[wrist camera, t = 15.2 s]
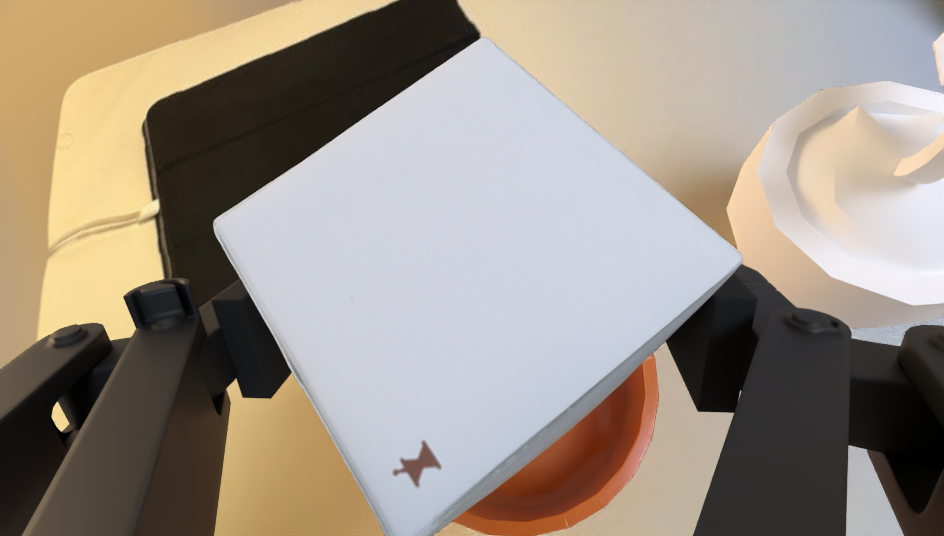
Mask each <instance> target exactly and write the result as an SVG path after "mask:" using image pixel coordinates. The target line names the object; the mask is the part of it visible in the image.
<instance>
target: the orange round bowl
mask: <svg viewBox="0 0 944 536" xmlns="http://www.w3.org/2000/svg"><path fill="white" fill-rule="evenodd" d="M658 401H659V392H658V382H657V373H656V363H655V358H654V354H653V353H652V354H651V355H650V356H649V357H648V358H647V359H646V360H645V361H644V362H643V363H642V364H641V365H640V366H639V367H638V368H637V369H635V370H634V371H633V372H632V374H631V375H630V376H629V377H628V378H627V379H626V380H625V381H624V382H623V383H622V384H621V385H620V386H618V387H617V388H616V389H615V390H614V391H613V392H612V393H611V394H610V395H609V396H608V397H607V398H605V399H604V400H603V401H602V402H601V403H600V404H599V405H598V406H597V407H596V408H595V409H593V410H592V411H591V412H590V413H589V414H588V415H587V416H585V417H584V418H583V419H582V420H581V421H580V422H579V423H577V424H576V425H575V426H574V427H573V428H572V429H570V430H569V431H568V432H567V433H566V434H564V435H563V436H562V437H561V438H560V439H558V440H557V441H556V442H555V443H554V444H552V445H551V446H550V447H549V448H547V449H546V450H545V451H544V452H542V453H541V454H540V455H539V456H537V457H536V458H535V459H534V460H532V461H531V462H530V463H529V464H527V465H526V466H525V467H524V468H522V469H521V470H520V471H518V472H517V473H516V474H515V475H513V476H512V477H511V478H510V479H508V480H507V481H506V482H504V483H503V484H502V485H501V486H499V487H498V488H497V489H495V490H494V491H493V492H491V493H490V494H489V495H487V496H486V497H484V498H483V499H481V500H480V501H479V502H477V503H476V504H475V505H473V506H472V507H471V508H469V509H468V510H467V511H465V512H464V513H462V514H461V515H460V516H458V517H457V518H456V519H454V520H453V521H452V522H455V523H457V524H460V525H463V526H465V527H468V528H470V529H473V530H476V531H478V532H481V533H484V534H487V535H499V536H537V535H541V534H545V533H550V532H554V531H558V530H563V529H567V528H569V527H572V526H573V525H575V524H577V523H579V522H580V521H582V520H584V519H585V518H587V517H589V516H590V515H592V514H594V513H596V512H597V511H599V510H601V509H602V508H604V507H605V506H607V505H608V503H609V502H610V501H611V500H612V499H613V498H614V497H615V496H616V495H617V494H618V493H619V491H620V490H621V489H622V488H623V487H624V486H625V485H626V484H627V483H628V482H629V481H630V479H631V478H632V477H633V475H634V474H635V473H636V471H637V468H638V466H639V464H640V462H641V460H642V458H643V456H644V454H645V452H646V450H647V448H648V446H649V444H650V442H651V440H652V436H653V430H654V424H655V419H656V413H657V407H658Z"/></svg>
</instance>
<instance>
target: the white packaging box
mask: <svg viewBox="0 0 944 536" xmlns="http://www.w3.org/2000/svg"><path fill="white" fill-rule="evenodd" d="M213 227H214V233H215V235H216V237H217V239H218V240H219V242H220V243H221V245H222V247H223V249H224V251H225V253H226V255H227V257H228V258H229V260H230V262H231V263H232V265H233V267H234V268H235V270H236V272H237V273H238V275H239V277H240V278H241V280H242V282H243V284H244V286H245V287H246V289H247V291H248V293H249V294H250V296H251V298H252V300H253V301H254V303H255V305H256V307H257V309H258V310H259V312H260V314H261V316H262V317H263V319H264V321H265V322H266V324H267V326H268V328H269V329H270V331H271V333H272V335H273V336H274V338H275V340H276V342H277V344H278V346H279V348H280V350H281V352H282V354H283V356H284V358H285V360H286V362H287V364H288V366H289V368H290V369H291V371H292V373H293V375H294V377H295V379H296V381H297V382H298V383H299V385H300V386H301V387H302V389H303V390H304V391H305V393H306V395H307V396H308V398H309V400H310V402H311V403H312V405H313V407H314V409H315V410H316V412H317V414H318V416H319V418H320V419H321V421H322V423H323V425H324V426H325V428H326V430H327V431H328V433H329V435H330V437H331V439H332V440H333V442H334V444H335V446H336V447H337V449H338V451H339V453H340V454H341V456H342V458H343V460H344V461H345V463H346V465H347V467H348V469H349V470H350V472H351V474H352V476H353V478H354V479H355V481H356V483H357V484H358V486H359V488H360V490H361V491H362V493H363V495H364V497H365V498H366V500H367V502H368V504H369V506H370V507H371V509H372V511H373V513H374V514H375V516H376V518H377V520H378V522H379V524H380V526H381V528H382V530H383V532H384V534H385V536H433V535H434V534H436V533H437V532H438V531H440V530H441V529H442V528H444V527H445V526H446V525H448V524H449V523H450V522H452V521H453V520H454V519H456V518H457V517H458V516H460V515H461V514H462V513H464V512H465V511H467V510H468V509H469V508H471V507H472V506H473V505H475V504H476V503H477V502H479V501H480V500H481V499H483V498H484V497H486V496H487V495H489V494H490V493H491V492H493V491H494V490H495V489H497V488H498V487H499V486H501V485H502V484H503V483H504V482H506V481H507V480H508V479H510V478H511V477H512V476H513V475H515V474H516V473H517V472H518V471H520V470H521V469H522V468H524V467H525V466H526V465H527V464H529V463H530V462H531V461H532V460H534V459H535V458H536V457H537V456H539V455H540V454H541V453H542V452H544V451H545V450H546V449H547V448H549V447H550V446H551V445H552V444H554V443H555V442H556V441H557V440H558V439H560V438H561V437H562V436H563V435H564V434H566V433H567V432H568V431H569V430H570V429H572V428H573V427H574V426H575V425H576V424H577V423H579V422H580V421H581V420H582V419H583V418H584V417H585V416H587V415H588V414H589V413H590V412H591V411H592V410H593V409H595V408H596V407H597V406H598V405H599V404H600V403H601V402H602V401H603V400H604V399H605V398H607V397H608V396H609V395H610V394H611V393H612V392H613V391H614V390H615V389H616V388H617V387H618V386H620V385H621V384H622V383H623V382H624V381H625V380H626V379H627V378H628V377H629V376H630V375H631V374H632V372H633V371H634V370H635V369H637V368H638V367H639V366H640V365H641V364H642V363H643V362H644V361H645V360H646V359H647V358H648V357H649V356H650V355H651V354H652V353H653V352H654V351H656V350H657V349H658V348H659V347H660V346H661V345H662V344H663V343H664V342H665V341H666V340H667V339H668V338H669V337H670V336H671V335H672V334H673V333H674V332H675V331H676V330H677V329H678V328H679V327H680V326H681V325H682V324H683V323H684V322H685V321H686V320H687V319H688V318H689V317H690V316H691V315H692V314H693V313H694V312H696V311H697V310H698V309H699V308H700V307H701V306H702V305H703V304H704V303H705V302H706V301H707V300H708V299H709V298H710V297H711V296H712V295H713V294H714V293H715V292H716V291H717V290H718V289H719V288H720V287H721V286H722V285H723V284H724V283H725V281H726V280H727V279H728V278H729V277H730V276H731V275H732V274H733V273H734V272H735V271H736V270H737V268H738V267H739V266H740V265H741V264H742V262H743V255H742V254H741V253H740V252H739V251H738V250H736V249H735V248H734V247H733V246H732V245H731V244H730V243H729V242H727V241H726V240H725V239H724V238H722V237H721V236H720V235H719V234H718V233H716V232H715V231H714V230H713V229H711V228H710V227H709V226H708V225H707V224H706V223H704V222H703V221H702V220H701V219H700V218H699V217H697V216H696V215H695V214H694V213H693V212H692V211H690V210H689V209H688V208H687V207H685V206H684V205H683V204H682V203H681V202H679V201H678V200H677V199H676V198H675V197H674V196H672V195H671V194H670V193H669V192H668V191H667V190H665V189H664V188H663V187H662V186H661V185H660V184H658V183H657V182H656V181H655V180H654V179H653V178H651V177H650V176H649V175H648V174H647V173H646V172H644V171H643V170H642V169H641V168H640V167H639V166H637V165H636V164H635V163H634V162H633V161H631V160H630V159H629V158H628V157H627V156H626V155H624V154H623V153H622V152H621V151H620V150H618V149H617V148H616V147H615V146H614V145H613V144H611V143H610V142H609V141H608V140H607V139H606V138H604V137H603V136H602V135H601V134H600V133H598V132H597V131H596V130H595V129H594V128H593V127H591V126H590V125H589V124H588V123H587V122H585V121H584V120H583V119H582V118H581V117H580V116H578V115H577V114H576V113H575V112H574V111H573V110H571V109H570V108H569V107H568V106H567V105H566V104H564V103H563V102H562V101H561V100H560V99H558V98H557V97H556V96H555V95H554V94H553V93H551V92H550V91H549V90H548V89H547V88H546V87H545V86H543V85H542V84H541V83H540V82H539V81H538V80H536V79H535V78H534V77H533V76H532V75H531V74H530V73H528V72H527V71H526V70H525V69H524V68H523V67H521V66H520V65H519V64H518V63H517V62H516V61H514V60H513V59H512V58H511V57H510V56H508V55H507V54H506V53H505V52H504V51H503V50H501V49H500V48H499V47H498V46H497V45H496V44H495V43H494V42H492V41H491V40H490V39H489V38H486V37H482V38H480V39H479V40H477V41H476V42H475V43H473V44H472V45H470V46H469V47H467V48H466V49H464V50H463V51H461V52H460V53H458V54H457V55H455V56H454V57H452V58H451V59H449V60H448V61H446V62H445V63H443V64H442V65H441V66H439V67H438V68H436V69H435V70H433V71H432V72H430V73H429V74H427V75H426V76H424V77H423V78H422V79H420V80H419V81H417V82H416V83H414V84H413V85H412V86H410V87H409V88H407V89H406V90H404V91H403V92H401V93H400V94H399V95H397V96H396V97H394V98H393V99H391V100H390V101H388V102H387V103H385V104H384V105H382V106H381V107H379V108H378V109H377V110H375V111H374V112H372V113H371V114H369V115H368V116H366V117H365V118H363V119H362V120H361V121H359V122H358V123H356V124H355V125H353V126H352V127H351V128H349V129H348V130H346V131H345V132H344V133H342V134H341V135H339V136H338V137H337V138H335V139H334V140H332V141H331V142H330V143H328V144H327V145H325V146H324V147H322V148H321V149H320V150H318V151H317V152H315V153H314V154H312V155H311V156H310V157H308V158H307V159H305V160H304V161H302V162H301V163H299V164H298V165H296V166H295V167H293V168H292V169H290V170H289V171H287V172H286V173H284V174H283V175H281V176H280V177H278V178H276V179H275V180H273V181H272V182H270V183H269V184H267V185H266V186H264V187H263V188H261V189H260V190H258V191H257V192H255V193H254V194H252V195H251V196H249V197H248V198H246V199H245V200H243V201H242V202H240V203H239V204H237V205H236V206H234V207H233V208H231V209H230V210H228V211H227V212H225V213H223V214H222V215H220V216H219V217H217V218H216V219H215V220H214V223H213Z"/></svg>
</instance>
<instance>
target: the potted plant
mask: <svg viewBox="0 0 944 536" xmlns="http://www.w3.org/2000/svg"><path fill="white" fill-rule="evenodd" d="M932 45H933V50H934V55H935V60H936V65H937V71H938V76H939V81H940V85H942V86H944V32H943V33H942V34H941V35H940V36H939V38H938V39H937V40H936V41H935V42H934V43H933V44H932ZM726 210H727V213H728V217H729V220H730V223H731V227H732V230H733V234H734V237H735V240H736V244H737V250H738V251H739V252H740V253H741V254H742V255H743V262H742V264H743V265H745V266H747V267H750V268H752V269H754V270H756V271H758V272H759V273H760V274H761V275H762V276H764V277H765V278H766V279H767V280H768V283H771V284H772V285H773V286H774V287H775V288H776V290H777V291H780V292H781V293H782V294H783V295H784V296H785V297H786V298H787V299H788V300H789V301H790V302H791V303H792V304H793V305H794V306H796V307H798V308H806V309H812V310H816V311H819V312H823V313H826V314H829V315H831V316H833V317H835V318H838V319H840V320H841V321H842V322H844V323H845V324H846V325H848V327H850V328H852V329H859V328H872V327H885V326H898V325H910V324H922V323H925V322H928V321H931V320H934V319H937V318H940V317H943V316H944V94H942V93H937V92H933V91H929V90H924V89H920V88H916V87H911V86H907V85H903V84H898V83H894V82H890V81H882V82H874V83H867V84H859V85H851V86H844V87H836V88H829V89H821V90H819V91H818V92H817V93H815V94H814V95H812V96H811V97H809V98H808V99H806V100H805V101H803V102H802V103H800V104H799V105H797V106H796V107H794V108H793V109H791V110H790V111H788V112H787V113H785V114H784V115H782V116H781V117H779V118H778V119H776V120H775V121H774V122H773V123H772V125H771V126H770V128H769V129H768V131H767V132H766V133H765V135H764V136H763V138H762V139H761V140H760V142H759V143H758V145H757V146H756V148H755V149H754V150H753V152H752V153H751V155H750V156H749V157H748V159H747V160H746V162H745V163H744V165H743V166H742V169H741V171H740V174H739V177H738V179H737V182H736V185H735V187H734V190H733V193H732V196H731V198H730V201H729V204H728V206H727V209H726Z"/></svg>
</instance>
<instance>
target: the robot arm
mask: <svg viewBox="0 0 944 536" xmlns="http://www.w3.org/2000/svg"><path fill="white" fill-rule="evenodd" d="M123 297H124V300H125V302H126V305H127V307H128V310H129V312H130V314H131V317H132V319H133V322H134V324H135V326H136V330H135V332H134V334H133V336H132V337H131V338H124V339H118V340H112V341H110V340H109V337H108V335H107V333H106V331H105V328H104V326H103V325H102V324H98V323H88V324H82V325H77V324H75V325H71V326H68V327H64V328H61V329H59V330H57V331H56V332H54V333H53V334H51V335H48V336H46V337H45V338H43V339H41V340H40V341H38V342H36V343H35V344H34V345H32V346H31V347H30V348H28V349H27V350H26V351H24V352H23V353H22V354H20V355H19V356H17V357H16V358H15V359H13V360H12V361H11V362H9V363H8V364H7V365H5V366H4V367H3V368H1V369H0V536H214V532H215V524H216V516H217V508H218V500H219V492H220V484H221V476H222V469H223V461H224V453H225V445H226V437H227V429H228V421H229V413H230V405H231V402H230V398H229V395H228V393H227V390H226V388H227V387H228V386H229V385H230V384H231V383H232V382H233V381H234V380H235V379H236V378H237V381H238V384H239V387H240V390H241V393H242V396H243V398H272V397H273V395H274V394H275V393H276V392H277V390H278V389H279V388H280V387H281V385H282V384H283V383H284V382H285V380H286V379H287V378H288V377H289V375H290V374H291V373H292V371H291V369H290V368H289V366H288V364H287V362H286V360H285V358H284V356H283V354H282V352H281V350H280V348H279V346H278V344H277V342H276V340H275V338H274V336H273V335H272V333H271V331H270V329H269V328H268V326H267V324H266V322H265V321H264V319H263V317H262V316H261V314H260V312H259V310H258V309H257V307H256V305H255V303H254V301H253V300H252V298H251V296H250V294H249V293H248V291H247V289H246V287H245V286H244V284H243V282H242V280H241V279H239V280H238V281H236V282H235V283H234V284H232V285H231V286H229V288H227V289H225V290H224V291H222V292H221V293H220V294H219V295H217V296H215V297H214V298H213V299H211V300H210V301H209V302H207V303H206V304H204V305H203V306H202V307H200V308H199V309H198V306H197V303H196V300H195V297H194V294H193V291H192V288H191V285H190V283H189V280H187V279H184V278H170V279H163V280H159V281H155V282H151V283H148V284H145V285H142V286H139V287H137V288H135V289H133V290H131V291H129V292H128V293H127V294H126V295H124V296H123ZM666 343H667V346H668V348H669V350H670V352H671V354H672V356H673V359H674V361H675V363H676V365H677V367H678V369H679V372H680V374H681V376H682V378H683V380H684V382H685V385H686V387H687V389H688V391H689V393H690V395H691V398H692V400H693V402H694V404H695V406H696V408H697V411H698V412H730V413H734V415H733V418H732V421H731V424H730V427H729V430H728V433H727V436H726V439H725V442H724V445H723V448H722V451H721V454H720V457H719V460H718V463H717V466H716V469H715V472H714V475H713V478H712V481H711V484H710V487H709V490H708V493H707V496H706V499H705V502H704V505H703V508H702V511H701V514H700V517H699V520H698V522H697V525H696V528H695V531H694V534H693V536H846V507H847V471H848V445H851V446H855V447H859V448H864V449H867V452H868V455H869V457H870V459H871V462H872V464H873V466H874V468H875V471H876V473H877V475H878V477H879V480H880V482H881V484H882V486H883V489H884V491H885V493H886V496H887V498H888V500H889V502H890V505H891V507H892V509H893V511H894V514H895V516H896V518H897V521H898V523H899V525H900V527H901V530H902V532H903V534H904V536H944V326H938V325H920V326H914V327H911V328H909V329H908V330H907V331H906V332H905V335H904V338H903V341H902V344H901V346H894V345H888V344H881V343H875V342H868V341H862V340H857V339H852V338H851V331H850V329H849V327H848V325H846V324H845V323H844V322H842V321H841V320H840V319H838V318H835V317H833V316H831V315H829V314H826V313H823V312H819V311H816V310H812V309H806V308H798V307H796V306H794V305H793V304H792V303H791V302H790V301H789V300H788V299H787V298H786V297H785V296H784V295H783V294H782V293H781V292H780V291H777V290H776V288H775V287H774V286H773V285H772V284H771V283H768V280H767V279H766V278H765V277H764V276H762V275H761V274H760V273H759V272H758V271H756V270H754V269H752V268H750V267H747V266H745V265H743V264H741V265H740V266H739V267H738V268H737V270H736V271H735V272H734V273H733V274H732V275H731V276H730V277H729V278H728V279H727V280H726V281H725V283H724V284H723V285H722V286H721V287H720V288H719V289H718V290H717V291H716V292H715V293H714V294H713V295H712V296H711V297H710V298H709V299H708V300H707V301H706V302H705V303H704V304H703V305H702V306H701V307H700V308H699V309H698V310H697V311H696V312H694V313H693V314H692V315H691V316H690V317H689V318H688V319H687V320H686V321H685V322H684V323H683V324H682V325H681V326H680V327H679V328H678V329H677V330H676V331H675V332H674V333H673V334H672V335H671V336H670V337H669V338H668V339H667V340H666ZM740 390H741V391H742V392H741V395H740V398H739V393H740ZM738 398H739V401H738ZM57 401H58V403H59V405H60V406H61V408H62V410H63V412H64V414H65V416H66V418H67V420H68V422H69V423H70V424H69V425H68V426H67V427H66V428H65V429H64V430H63V431H62V432H61V431H60V430H59V429H58V428H57V427H56V425H55V423H54V421H53V420H52V418H51V416H52V411H53V407H54V405H55V404H56V402H57Z"/></svg>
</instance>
